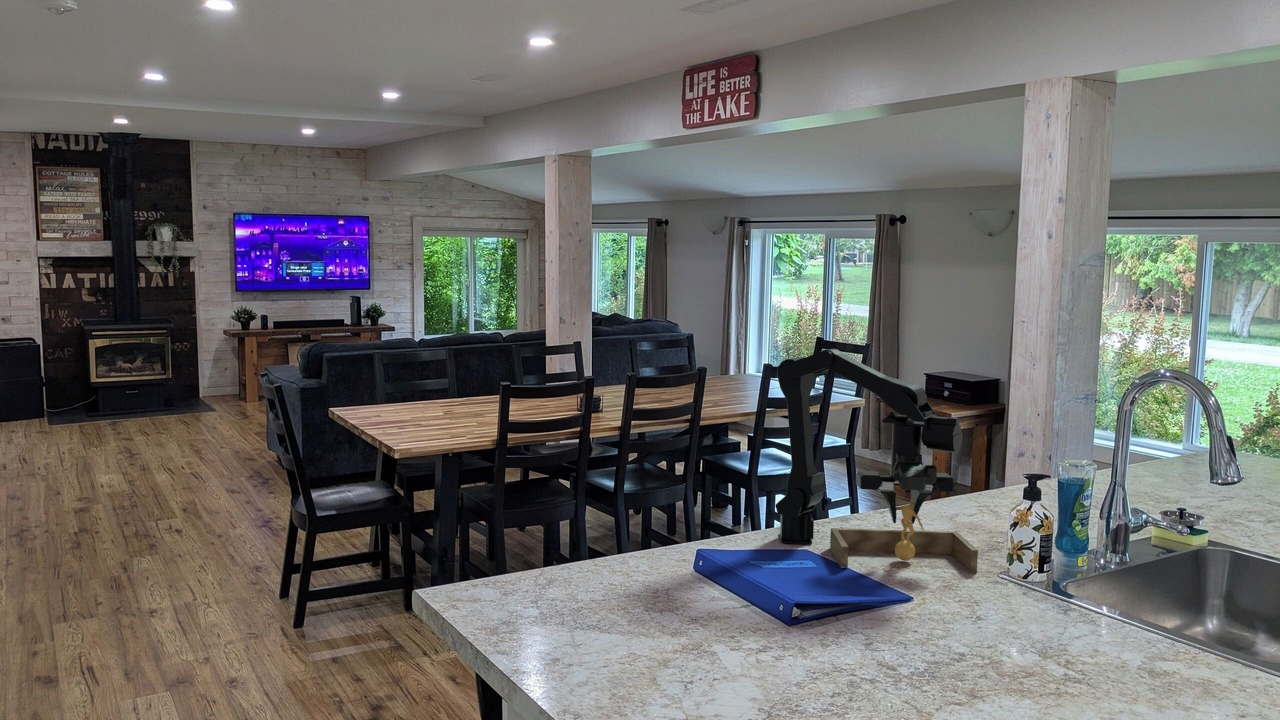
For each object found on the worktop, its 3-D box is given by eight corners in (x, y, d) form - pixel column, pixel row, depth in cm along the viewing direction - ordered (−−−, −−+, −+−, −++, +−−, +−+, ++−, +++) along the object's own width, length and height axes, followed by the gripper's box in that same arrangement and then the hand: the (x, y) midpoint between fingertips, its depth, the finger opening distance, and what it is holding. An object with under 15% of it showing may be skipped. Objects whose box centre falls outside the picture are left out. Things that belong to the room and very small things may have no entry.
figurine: (924, 568, 193) (940, 511, 193) (904, 566, 190) (921, 508, 189) (893, 553, 200) (909, 498, 199) (873, 551, 197) (890, 495, 196)
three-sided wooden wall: (841, 568, 190) (842, 546, 190) (830, 548, 204) (830, 528, 204) (976, 572, 189) (977, 550, 189) (956, 552, 203) (957, 531, 203)
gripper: (867, 452, 186) (864, 532, 187) (965, 455, 185) (961, 535, 187) (856, 443, 197) (853, 518, 198) (949, 445, 196) (945, 520, 198)
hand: (903, 523), depth 195 cm, fingers closed on figurine, 3 cm apart
